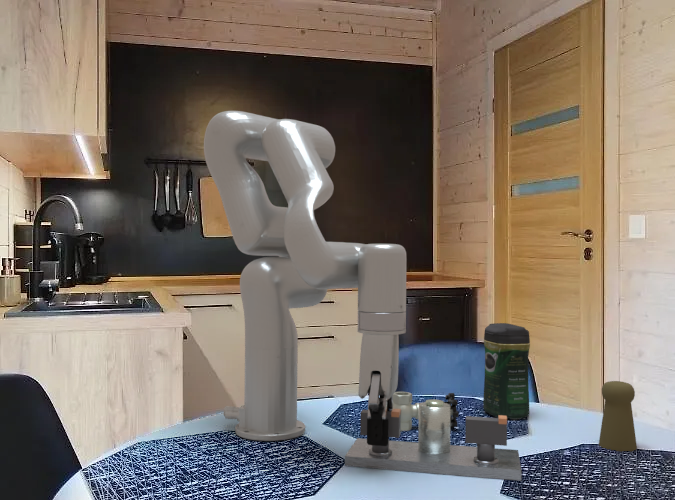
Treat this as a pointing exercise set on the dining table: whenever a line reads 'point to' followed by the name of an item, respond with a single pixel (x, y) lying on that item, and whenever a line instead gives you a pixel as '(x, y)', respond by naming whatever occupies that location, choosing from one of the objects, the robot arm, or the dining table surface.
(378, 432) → the robot arm
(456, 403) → the valve
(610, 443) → the cork
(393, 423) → the knob
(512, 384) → the coffee jar
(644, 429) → the dining table surface
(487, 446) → the knob
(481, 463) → the plate
